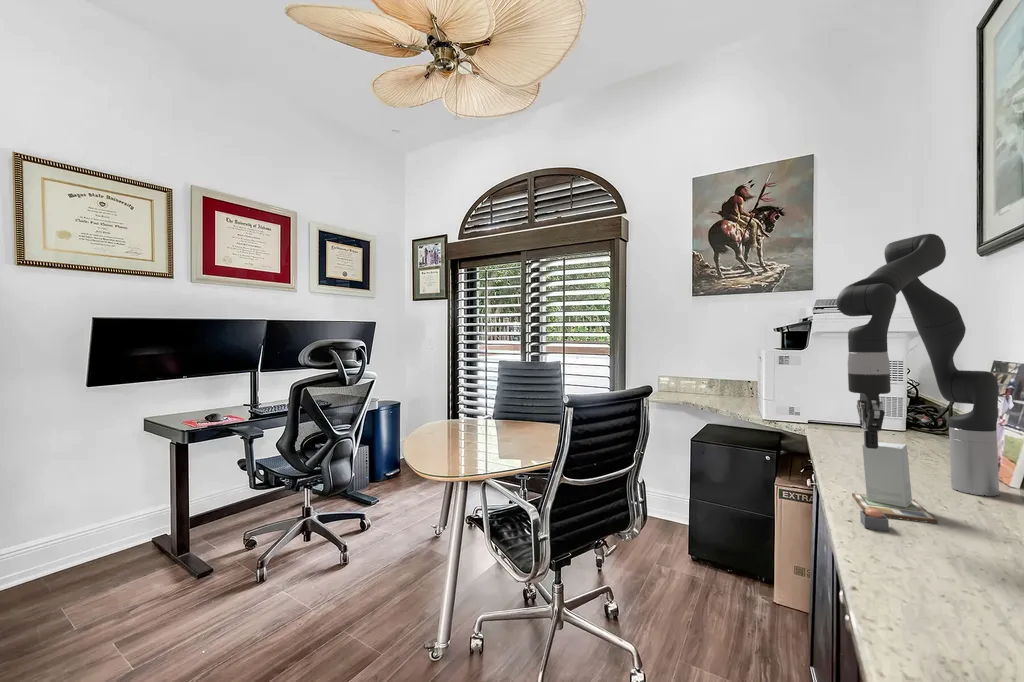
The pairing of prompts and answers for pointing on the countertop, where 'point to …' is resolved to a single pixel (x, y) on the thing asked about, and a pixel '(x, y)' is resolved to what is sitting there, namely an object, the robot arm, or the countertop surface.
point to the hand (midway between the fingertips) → (871, 447)
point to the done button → (873, 513)
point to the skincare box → (887, 474)
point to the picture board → (896, 509)
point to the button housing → (874, 522)
